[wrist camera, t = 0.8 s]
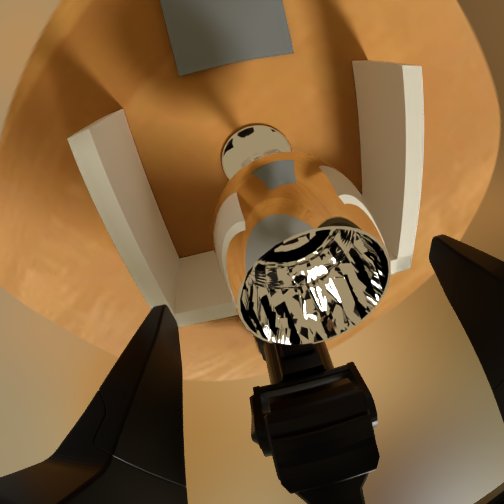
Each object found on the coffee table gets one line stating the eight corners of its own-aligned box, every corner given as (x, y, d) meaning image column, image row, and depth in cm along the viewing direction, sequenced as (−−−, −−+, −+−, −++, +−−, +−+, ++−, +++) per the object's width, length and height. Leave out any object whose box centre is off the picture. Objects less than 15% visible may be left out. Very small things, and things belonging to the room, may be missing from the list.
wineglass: (191, 157, 17) (170, 300, 8) (263, 95, 15) (356, 155, 6) (252, 216, 20) (292, 372, 11) (318, 163, 18) (425, 288, 9)
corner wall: (375, 225, 22) (410, 268, 18) (170, 274, 22) (163, 329, 18) (368, 60, 14) (421, 66, 10) (105, 115, 15) (66, 138, 10)
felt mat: (291, 53, 14) (293, 53, 14) (180, 76, 14) (179, 76, 14) (270, -39, 10) (271, -41, 10) (156, -18, 10) (155, -19, 10)
